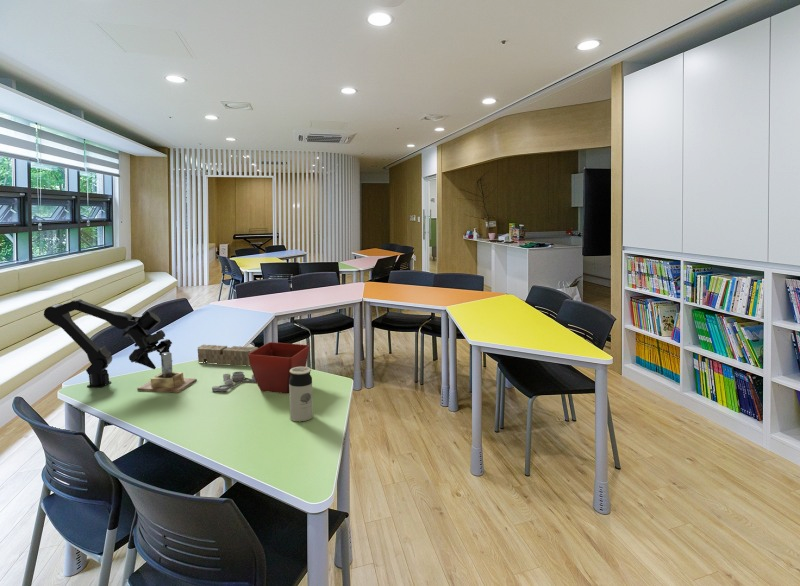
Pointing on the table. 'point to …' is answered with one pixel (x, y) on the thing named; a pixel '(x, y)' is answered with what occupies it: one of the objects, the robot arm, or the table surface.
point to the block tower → (225, 354)
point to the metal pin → (166, 365)
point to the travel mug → (300, 394)
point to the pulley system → (229, 381)
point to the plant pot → (277, 365)
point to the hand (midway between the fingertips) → (163, 365)
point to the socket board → (167, 383)
